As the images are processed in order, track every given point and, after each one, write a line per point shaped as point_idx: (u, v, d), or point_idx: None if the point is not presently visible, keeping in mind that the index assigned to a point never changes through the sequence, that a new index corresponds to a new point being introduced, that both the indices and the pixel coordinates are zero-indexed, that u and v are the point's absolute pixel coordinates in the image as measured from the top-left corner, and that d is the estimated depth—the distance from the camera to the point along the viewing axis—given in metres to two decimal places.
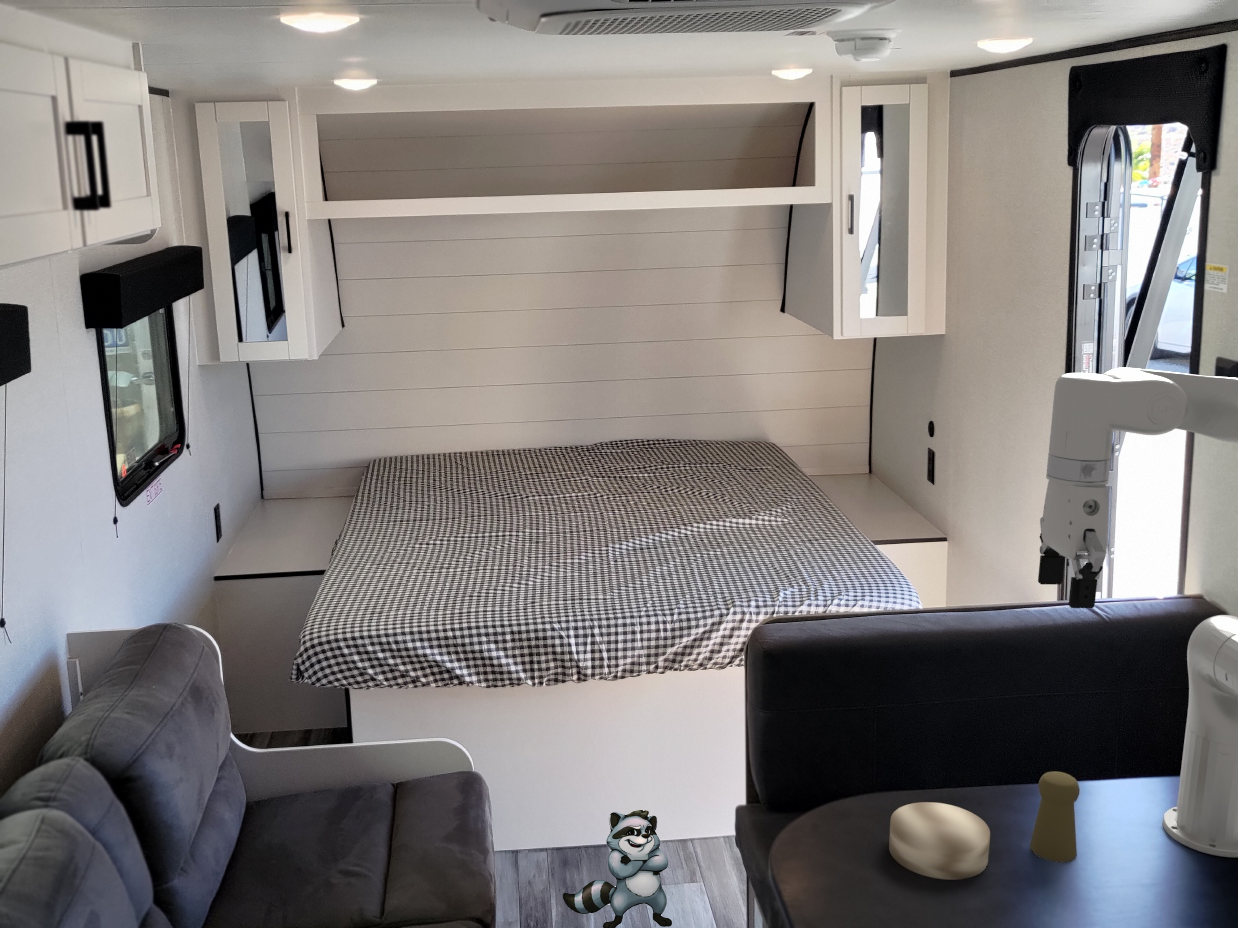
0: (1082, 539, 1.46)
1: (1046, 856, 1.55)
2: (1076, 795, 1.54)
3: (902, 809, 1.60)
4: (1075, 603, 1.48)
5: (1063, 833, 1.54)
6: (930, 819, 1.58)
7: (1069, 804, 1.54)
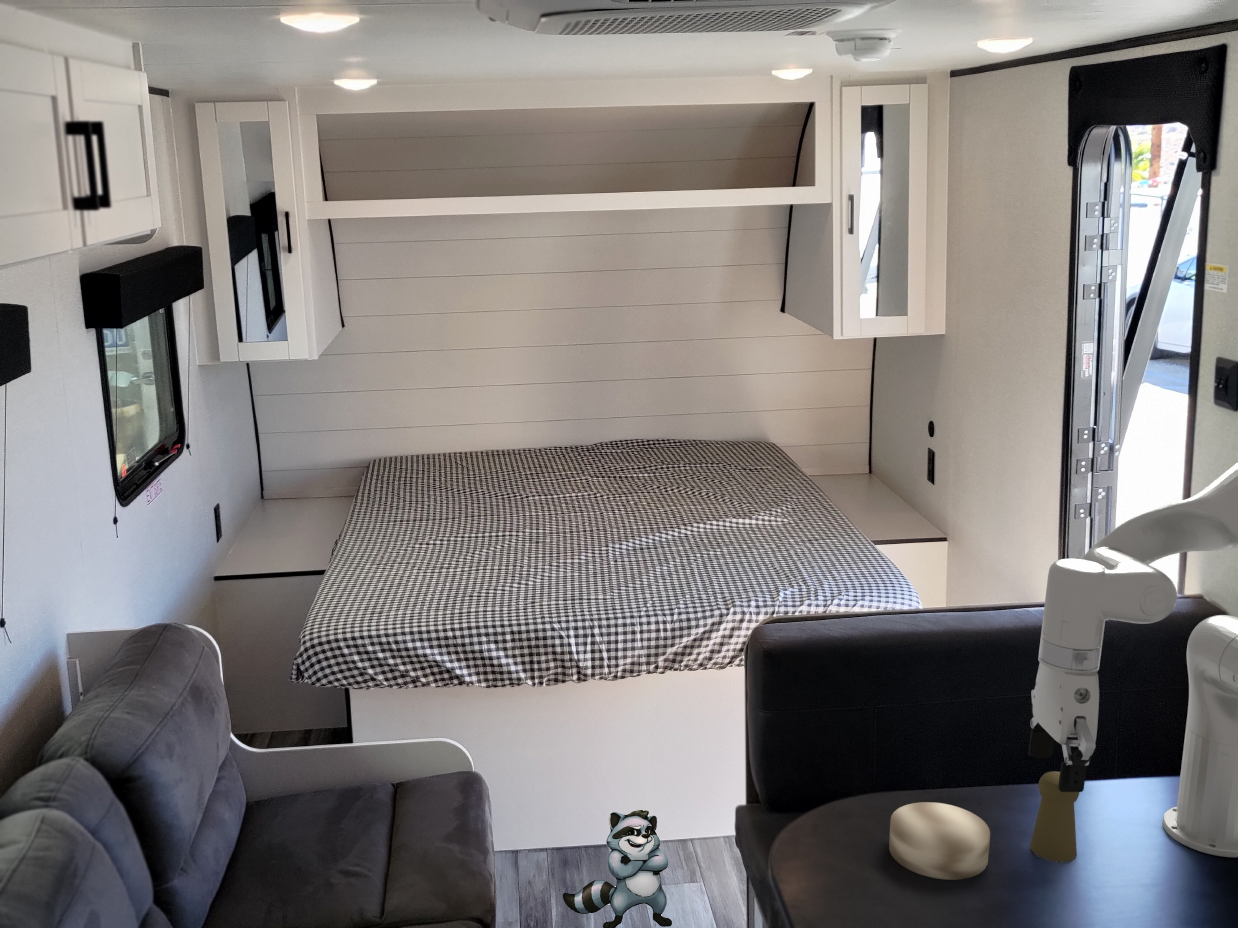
0: (1073, 726, 1.48)
1: (1046, 856, 1.55)
2: (1076, 795, 1.54)
3: (902, 809, 1.60)
4: (1064, 787, 1.50)
5: (1063, 833, 1.54)
6: (930, 819, 1.58)
7: (1069, 804, 1.54)
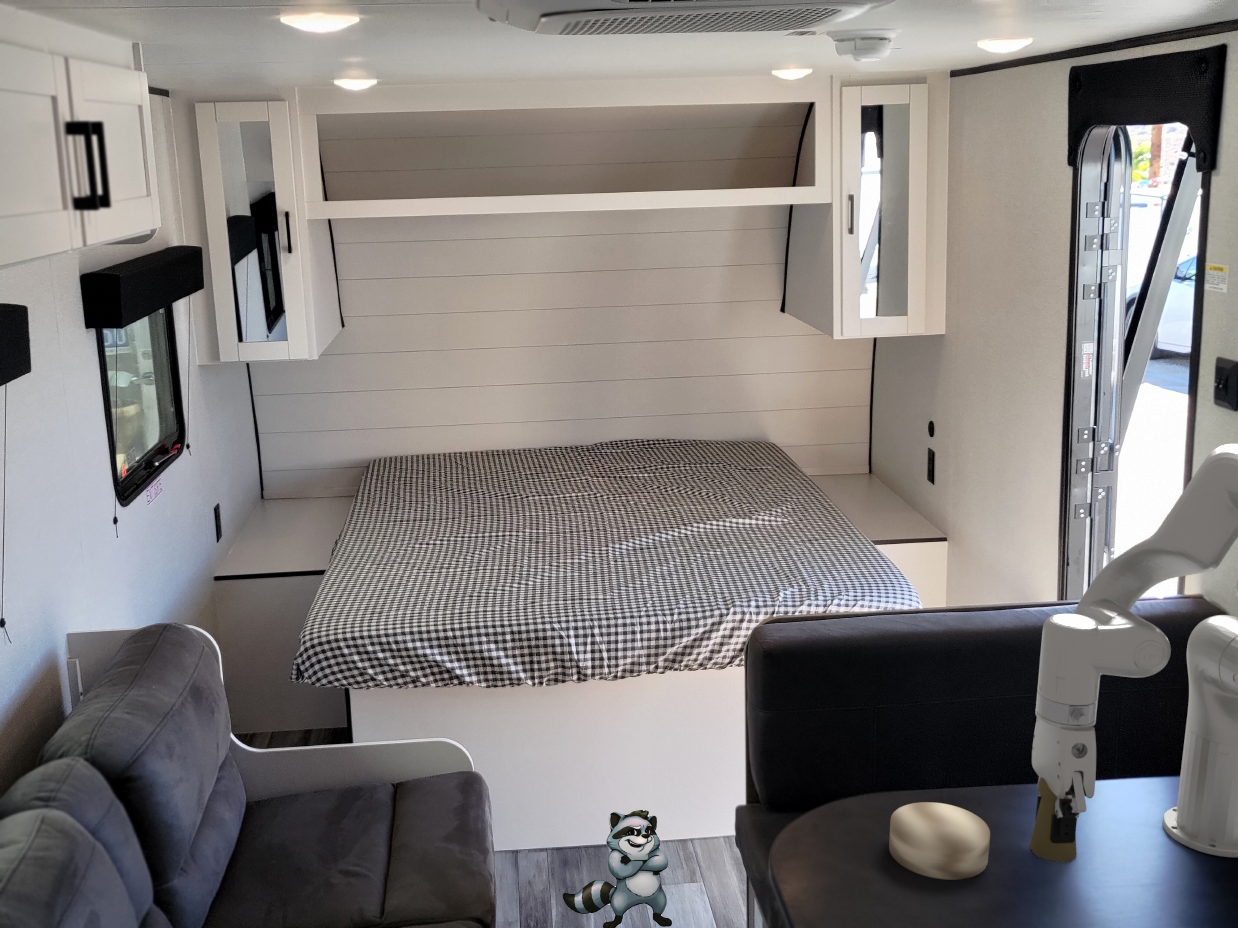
0: (1071, 780, 1.50)
1: (1046, 856, 1.55)
2: None
3: (902, 809, 1.60)
4: (1056, 838, 1.54)
5: None
6: (930, 819, 1.58)
7: None
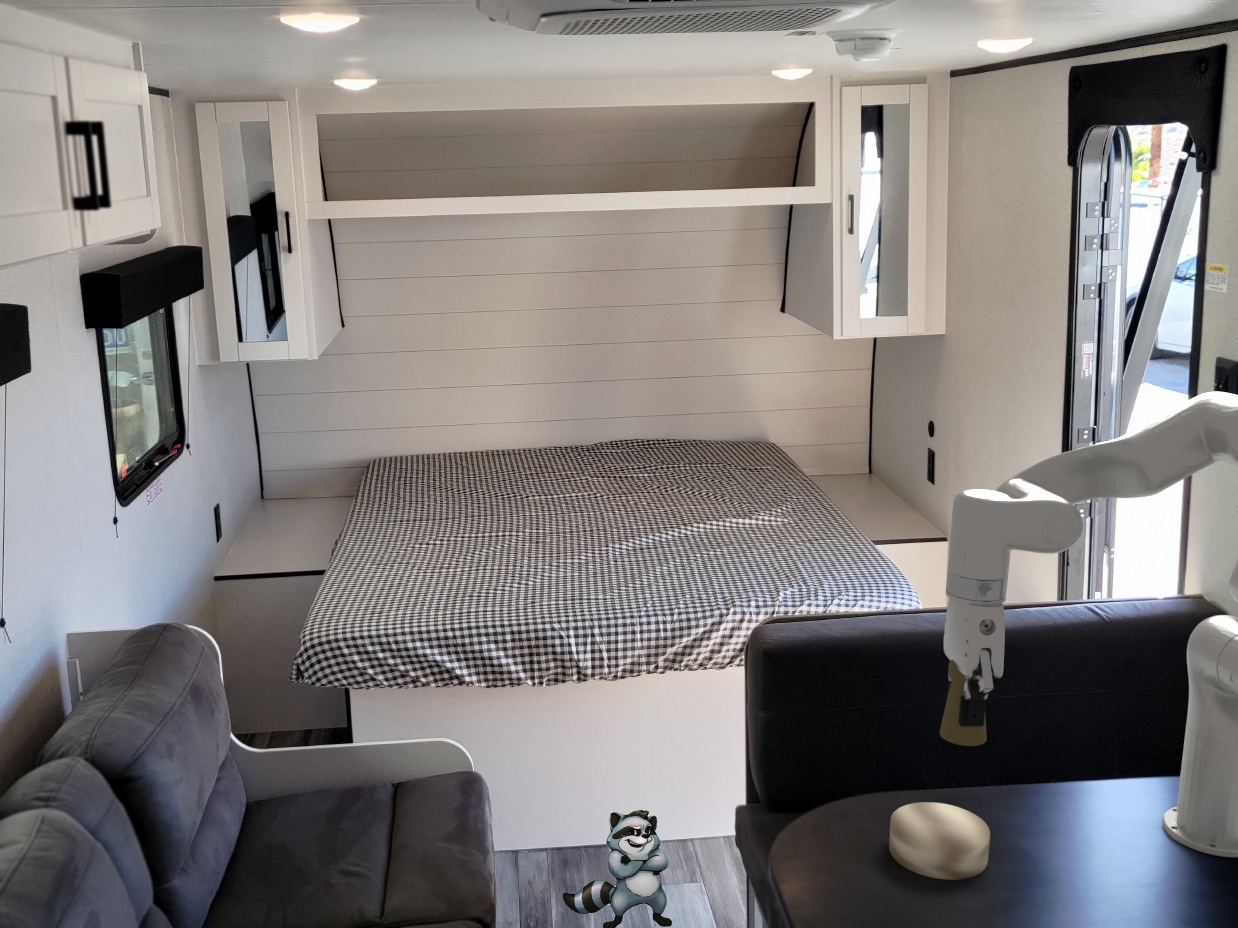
0: (978, 658, 1.46)
1: (954, 740, 1.51)
2: None
3: (902, 809, 1.60)
4: (965, 721, 1.50)
5: None
6: (930, 819, 1.58)
7: None
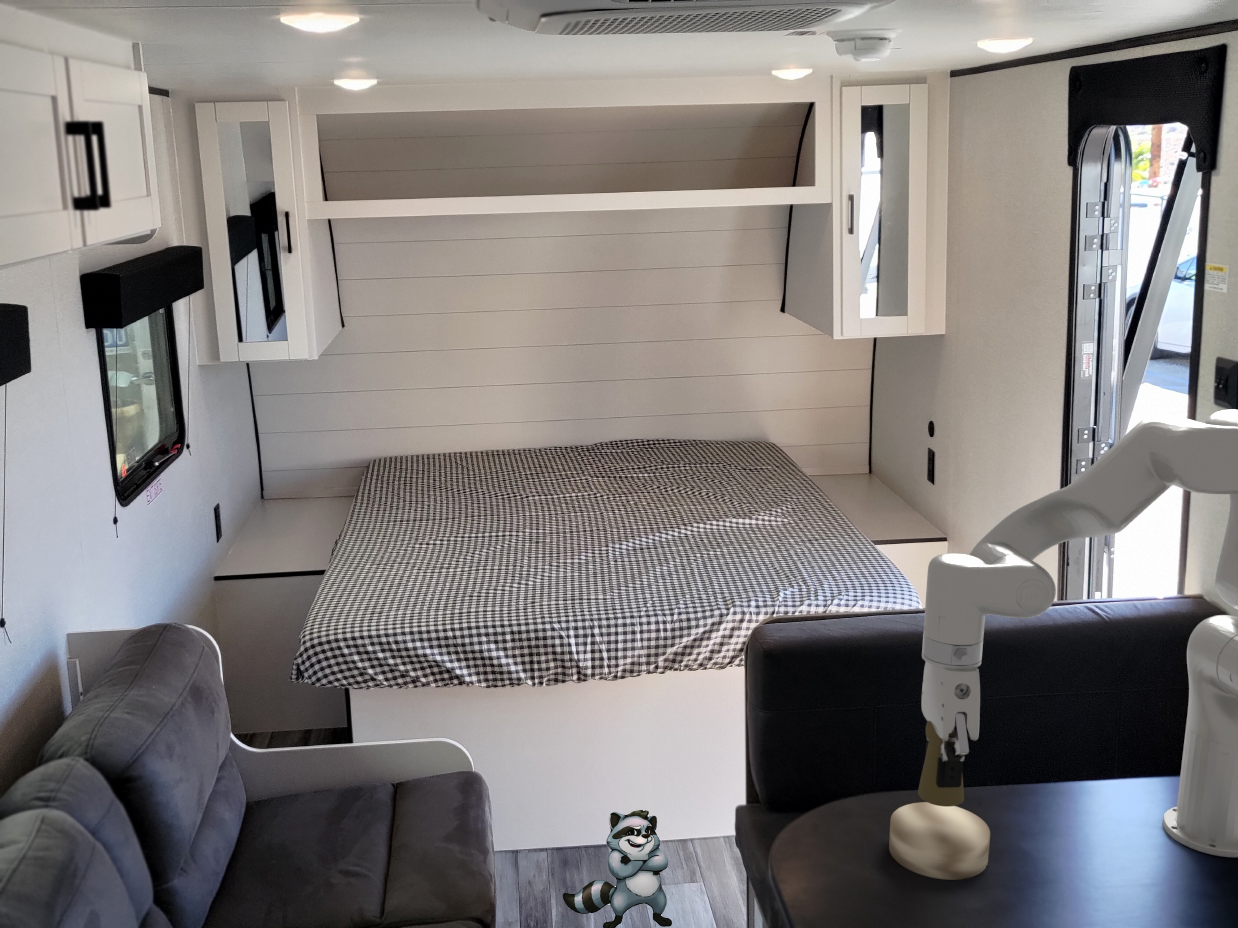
0: (954, 722, 1.47)
1: (932, 800, 1.53)
2: None
3: (902, 809, 1.60)
4: (942, 783, 1.52)
5: None
6: (930, 819, 1.58)
7: None
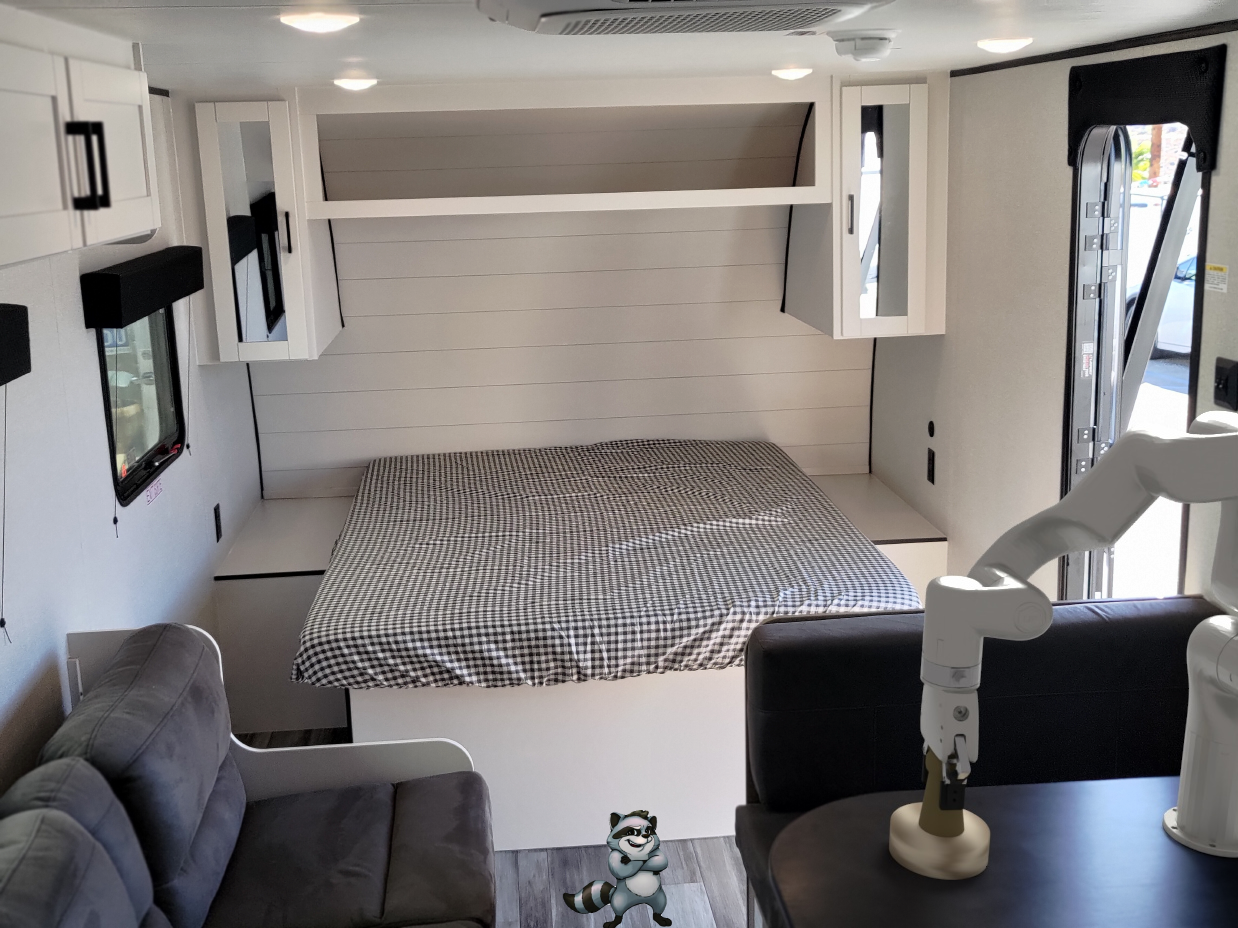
0: (953, 744, 1.48)
1: (932, 831, 1.54)
2: None
3: (902, 809, 1.60)
4: (944, 805, 1.51)
5: None
6: None
7: None
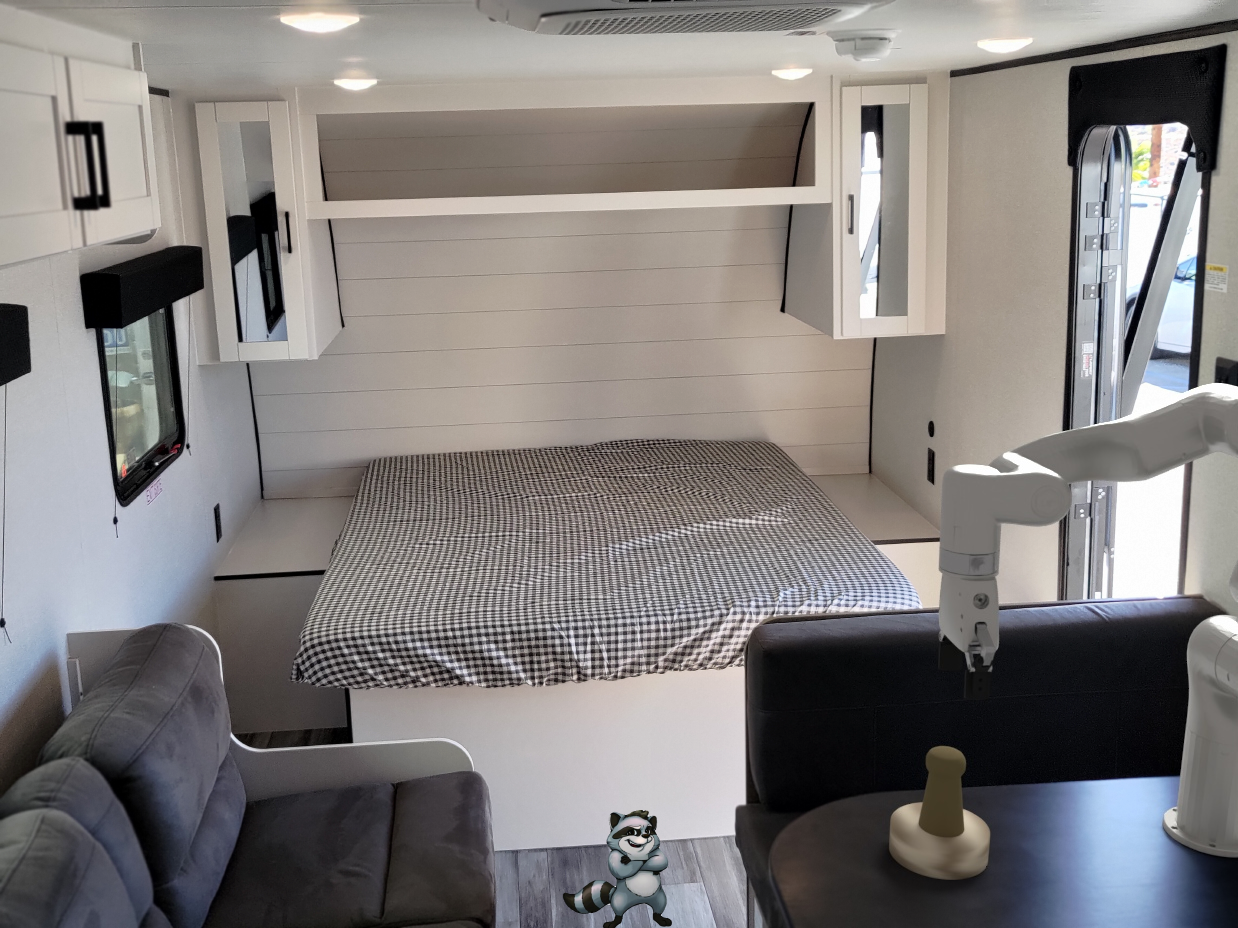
0: (973, 632, 1.47)
1: (932, 831, 1.54)
2: (962, 769, 1.52)
3: (902, 809, 1.60)
4: (970, 695, 1.48)
5: (949, 807, 1.53)
6: None
7: (955, 778, 1.52)
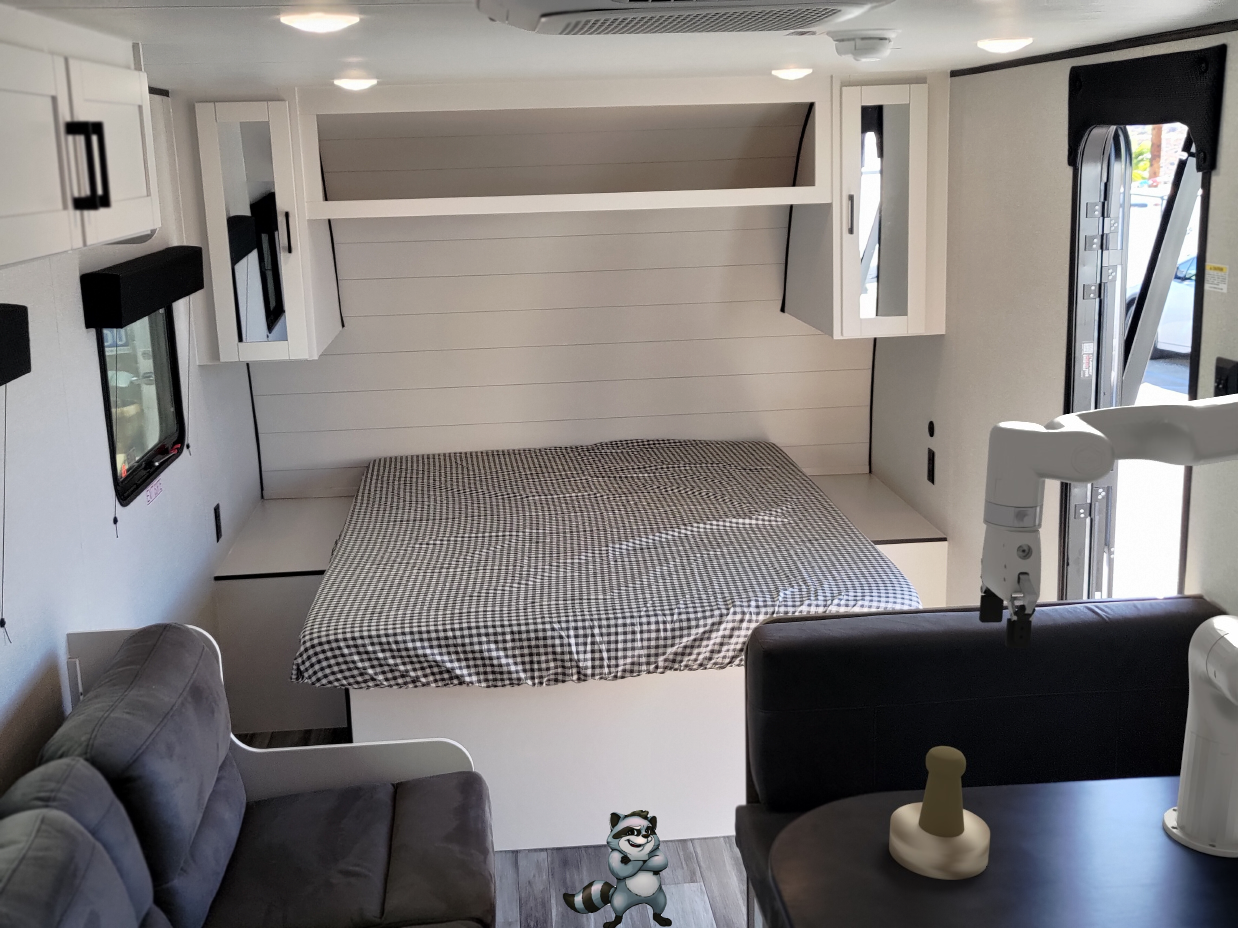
0: (1016, 582, 1.52)
1: (932, 831, 1.54)
2: (962, 769, 1.52)
3: (902, 809, 1.60)
4: (1011, 643, 1.54)
5: (949, 807, 1.53)
6: None
7: (955, 778, 1.52)
